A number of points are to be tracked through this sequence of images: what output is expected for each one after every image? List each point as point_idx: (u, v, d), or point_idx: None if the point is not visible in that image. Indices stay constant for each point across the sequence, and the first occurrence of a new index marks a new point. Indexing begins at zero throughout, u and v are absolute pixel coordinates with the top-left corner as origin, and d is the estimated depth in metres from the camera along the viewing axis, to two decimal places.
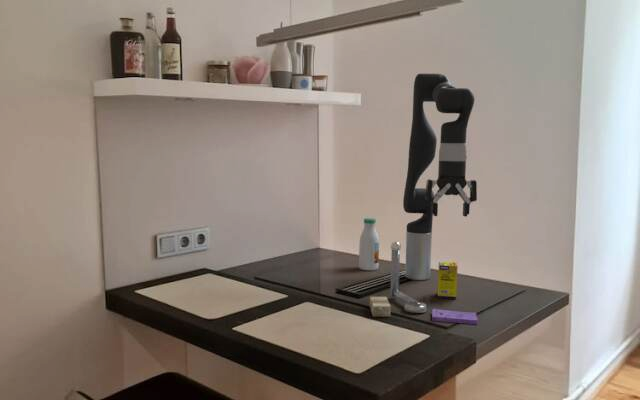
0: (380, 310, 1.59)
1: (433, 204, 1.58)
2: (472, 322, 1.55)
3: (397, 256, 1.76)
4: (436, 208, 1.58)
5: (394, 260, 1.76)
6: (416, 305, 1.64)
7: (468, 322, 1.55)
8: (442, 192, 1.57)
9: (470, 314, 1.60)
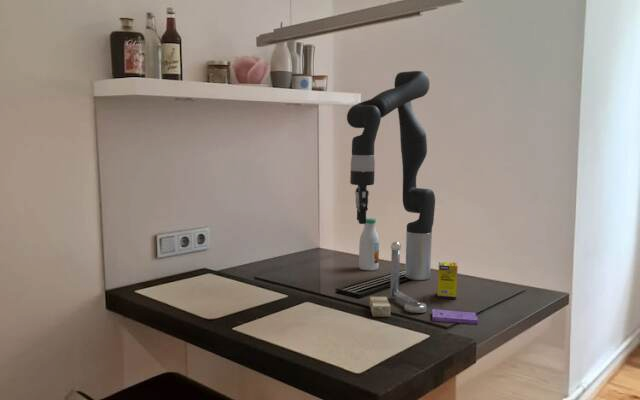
0: (380, 310, 1.59)
1: (364, 213, 1.72)
2: (472, 322, 1.55)
3: (397, 256, 1.76)
4: (365, 216, 1.73)
5: (394, 260, 1.76)
6: (416, 305, 1.64)
7: (468, 322, 1.55)
8: None
9: (470, 314, 1.60)
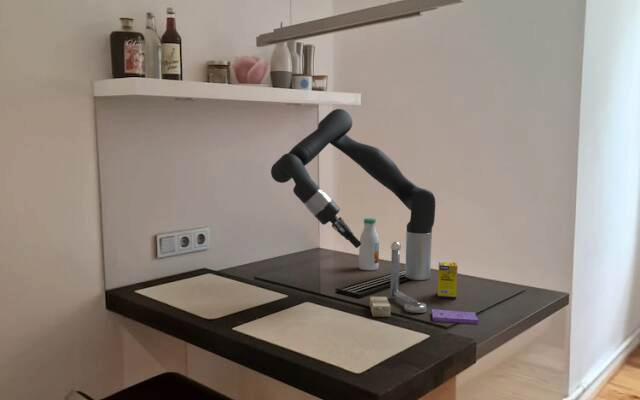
0: (380, 310, 1.59)
1: (353, 237, 1.75)
2: (473, 322, 1.55)
3: (397, 256, 1.76)
4: (356, 238, 1.76)
5: (394, 260, 1.76)
6: (416, 305, 1.64)
7: (469, 322, 1.56)
8: None
9: (469, 314, 1.60)
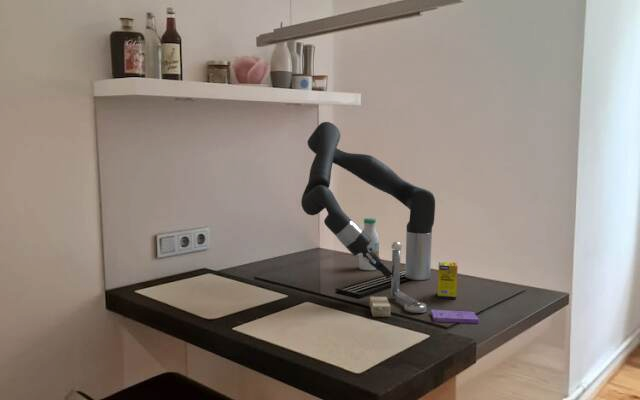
0: (380, 310, 1.59)
1: (384, 267, 1.76)
2: (473, 321, 1.56)
3: (398, 256, 1.76)
4: (387, 268, 1.77)
5: (394, 260, 1.76)
6: (416, 305, 1.64)
7: (469, 321, 1.56)
8: (378, 256, 1.76)
9: (469, 313, 1.61)
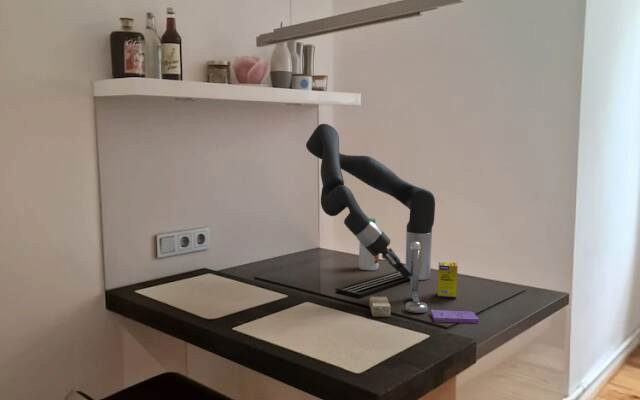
0: (380, 310, 1.59)
1: (403, 268, 1.77)
2: (474, 321, 1.56)
3: (415, 256, 1.76)
4: (406, 269, 1.78)
5: (412, 260, 1.77)
6: (414, 305, 1.64)
7: (470, 321, 1.56)
8: (397, 257, 1.77)
9: (469, 313, 1.61)
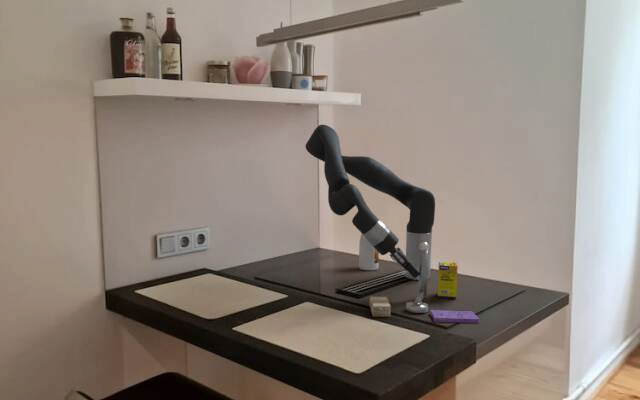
0: (380, 310, 1.59)
1: (412, 267, 1.77)
2: (474, 321, 1.56)
3: (423, 256, 1.76)
4: (415, 268, 1.77)
5: (420, 260, 1.77)
6: (414, 305, 1.64)
7: (470, 321, 1.56)
8: (405, 256, 1.76)
9: (468, 313, 1.61)
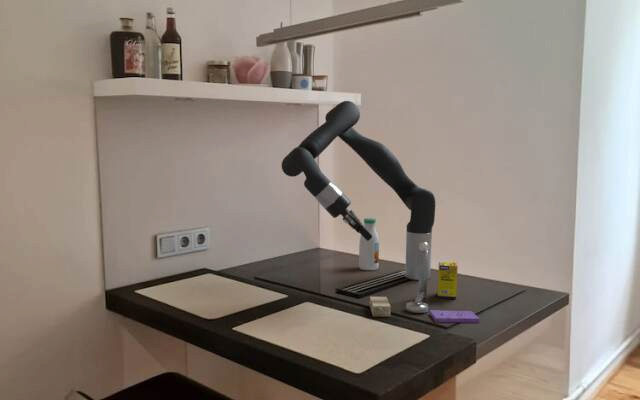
0: (380, 310, 1.59)
1: (364, 230, 1.75)
2: (474, 320, 1.56)
3: (423, 256, 1.76)
4: (367, 231, 1.76)
5: (420, 260, 1.77)
6: (414, 305, 1.64)
7: (470, 321, 1.56)
8: (358, 218, 1.75)
9: (468, 312, 1.61)
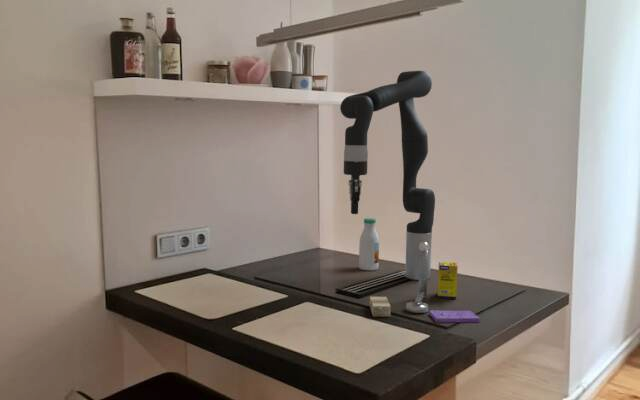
0: (380, 310, 1.59)
1: (356, 203, 1.77)
2: (474, 320, 1.57)
3: (423, 256, 1.76)
4: None
5: (420, 260, 1.77)
6: (414, 305, 1.64)
7: (471, 321, 1.57)
8: (360, 190, 1.76)
9: (467, 312, 1.62)
